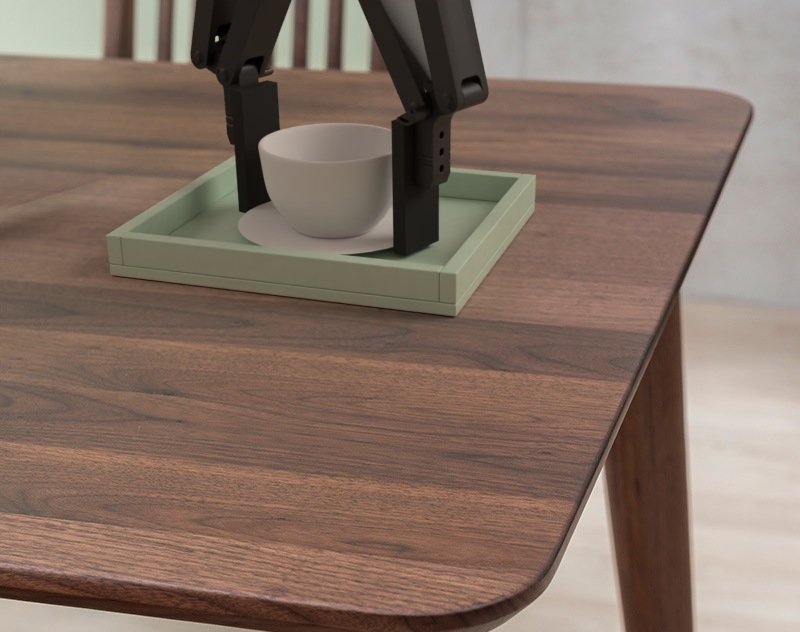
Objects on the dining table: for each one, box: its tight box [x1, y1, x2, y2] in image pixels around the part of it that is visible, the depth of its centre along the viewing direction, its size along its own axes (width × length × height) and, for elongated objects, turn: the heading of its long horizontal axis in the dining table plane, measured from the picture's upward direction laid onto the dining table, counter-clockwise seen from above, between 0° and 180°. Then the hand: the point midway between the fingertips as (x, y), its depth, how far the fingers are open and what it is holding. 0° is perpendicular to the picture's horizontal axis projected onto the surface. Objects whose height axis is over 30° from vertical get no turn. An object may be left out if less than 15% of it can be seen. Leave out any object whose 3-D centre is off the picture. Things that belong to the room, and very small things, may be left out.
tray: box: [105, 154, 537, 317], centre depth 65 cm, size 18×16×2 cm
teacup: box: [238, 122, 393, 255], centre depth 64 cm, size 10×10×5 cm
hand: (335, 225), depth 65 cm, fingers closed on teacup, 10 cm apart
